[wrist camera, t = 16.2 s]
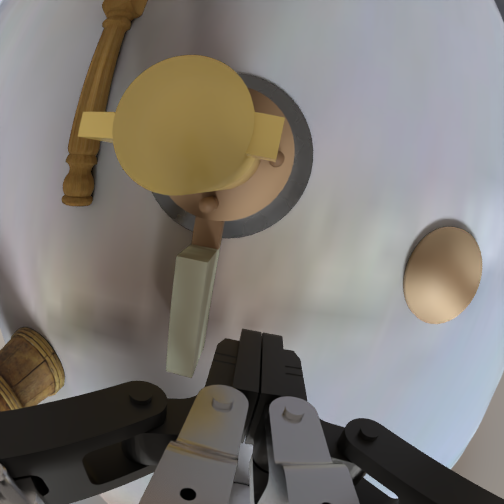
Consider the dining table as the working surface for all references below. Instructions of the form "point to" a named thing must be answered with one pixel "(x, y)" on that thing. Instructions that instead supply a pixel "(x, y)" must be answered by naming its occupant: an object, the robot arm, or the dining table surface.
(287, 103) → the stand base
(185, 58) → the cylinder with side tabs
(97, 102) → the tap handle
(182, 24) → the dining table surface
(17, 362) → the wooden mug
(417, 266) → the coaster
